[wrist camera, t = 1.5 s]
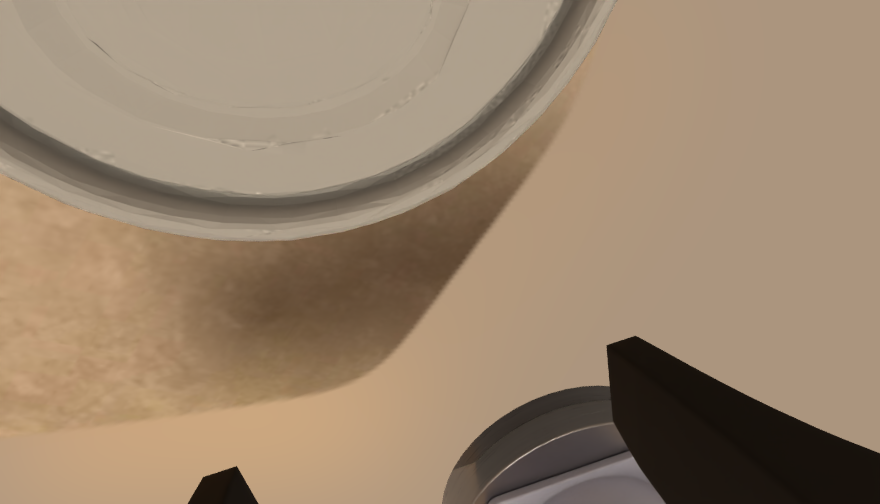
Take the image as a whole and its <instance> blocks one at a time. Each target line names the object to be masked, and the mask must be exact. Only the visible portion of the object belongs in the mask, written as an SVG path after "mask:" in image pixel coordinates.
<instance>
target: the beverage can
mask: <svg viewBox="0 0 880 504" xmlns="http://www.w3.org/2000/svg"><path fill="white" fill-rule="evenodd" d="M616 2H617V0H0V174H3V175H5V176H7V177H9V178H11V179H13V180H15V181H17V182H20V183H22V184H24V185H26V186H28V187H30V188H32V189H34V190H37V191H39V192H41V193H43V194H45V195H47V196H49V197H51V198H54V199H56V200H58V201H60V202H62V203H64V204H67V205H70V206H73V207H76V208H78V209H81V210H84V211H87V212H90V213H93V214H97V215H100V216H103V217H107V218H110V219H114V220H117V221H120V222H124V223H127V224H130V225H134V226H137V227H141V228H144V229H149V230H155V231H160V232H165V233H170V234H176V235H181V236H188V237H196V238H205V239H213V240H222V241H258V242H259V241H289V240H297V239H303V238H309V237H315V236H321V235H327V234H333V233H339V232H345V231H348V230H352V229H355V228H359V227H362V226H366V225H369V224H373V223H376V222H379V221H382V220H385V219H387V218H390V217H393V216H396V215H399V214H401V213H404V212H407V211H409V210H411V209H413V208H415V207H417V206H419V205H421V204H423V203H425V202H427V201H429V200H431V199H433V198H435V197H437V196H439V195H441V194H443V193H445V192H447V191H449V190H451V189H453V188H454V187H456V186H457V185H459V184H460V183H462V182H463V181H465V180H466V179H467V178H469V177H470V176H472V175H473V174H475V173H476V172H478V171H479V170H480V169H482V168H483V167H485V166H486V165H488V164H489V163H490V162H491V161H493V160H494V159H495V158H496V157H498V156H499V155H500V154H502V153H503V152H504V151H505V150H506V149H507V148H508V147H510V146H511V145H512V144H513V143H514V142H515V141H516V140H517V139H518V138H519V137H520V136H521V135H522V134H523V133H524V132H525V131H526V130H527V129H528V128H529V127H530V126H531V125H532V124H533V123H534V122H535V121H536V120H537V119H538V118H539V117H540V116H541V115H542V114H543V113H544V111H545V110H546V109H547V108H548V107H549V105H550V104H551V103H552V102H553V101H554V99H555V98H556V97H557V96H558V95H559V93H560V92H561V91H562V90H563V89H564V87H565V86H566V85H567V84H568V83H569V81H570V80H571V78H572V77H573V75H574V74H575V72H576V71H577V69H578V68H579V66H580V65H581V64H582V62H583V61H584V59H585V58H586V56H587V55H588V53H589V52H590V50H591V49H592V47H593V46H594V44H595V43H596V41H597V39H598V37H599V35H600V33H601V31H602V29H603V27H604V25H605V23H606V21H607V19H608V17H609V15H610V13H611V11H612V9H613V7H614V6H615V4H616Z"/></svg>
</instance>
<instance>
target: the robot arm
mask: <svg viewBox="0 0 880 504" xmlns="http://www.w3.org/2000/svg"><path fill="white" fill-rule="evenodd" d="M607 357H608V369H609V381H610V393H611V405H612V417H613V423H614V424H615V426H616V428H617V430H618V431H619V433H620V435H621V437H622V438H623V440H624V442H625V444H626V446H627V447H628V449H629V451H627V452H624V453H621V454H618V455H615V456H612V457H609V458H606V459H604V460H601V461H598V462H595V463H592V464H589V465H586V466H583V467H580V468H577V469H574V470H572V471H569V472H566V473H563V474H560V475H557V476H554V477H551V478H548V479H545V480H542V481H540V482H537V483H534V484H531V485H528V486H525V487H522V488H519V489H516V490H513V491H510V492H508V493H505V494H502V495H499V496H496V497H494V498H492V499H491V500H490V501H489V503H488V504H880V453H877V452H875V451H872V450H870V449H867V448H865V447H862V446H860V445H857V444H854V443H852V442H849V441H847V440H844V439H842V438H839V437H837V436H834V435H832V434H830V433H827V432H825V431H823V430H820V429H818V428H816V427H814V426H811V425H809V424H807V423H805V422H802V421H800V420H798V419H796V418H794V417H792V416H789V415H787V414H785V413H783V412H781V411H778V410H776V409H774V408H772V407H770V406H768V405H766V404H764V403H762V402H760V401H757V400H755V399H753V398H751V397H749V396H747V395H745V394H743V393H741V392H739V391H737V390H735V389H733V388H731V387H730V386H728V385H726V384H724V383H722V382H720V381H718V380H716V379H714V378H712V377H710V376H708V375H707V374H705V373H703V372H701V371H699V370H697V369H696V368H694V367H691V366H690V365H688V364H686V363H684V362H682V361H681V360H679V359H677V358H675V357H674V356H672V355H670V354H668V353H666V352H664V351H663V350H661V349H659V348H657V347H655V346H654V345H652V344H650V343H648V342H646V341H644V340H643V339H641V338H639V337H637V336H634V337H631V338H627V339H625V340H621V341H618V342H615V343H612V344H609V345H607ZM188 504H258V502H257V501H256V499H255V497H254V496H253V494H252V492H251V490H250V488H249V487H248V485H247V483H246V481H245V480H244V478H243V476H242V475H241V473H240V471H239V469H238V468H237V466H236V467H233V468H230V469H227V470H224V471H221V472H218V473H215V474H211V475H209V476H205V477H203V478H202V480H201V482H200V484H199V485H198V487H197V489H196V490H195V492H194V494H193V495H192V497H191V499H190V501H189V502H188Z"/></svg>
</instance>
